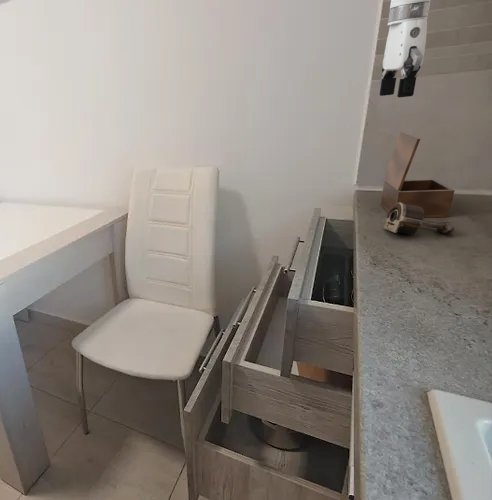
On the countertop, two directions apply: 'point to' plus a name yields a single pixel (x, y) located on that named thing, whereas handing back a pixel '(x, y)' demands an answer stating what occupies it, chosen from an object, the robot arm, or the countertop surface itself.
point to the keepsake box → (420, 196)
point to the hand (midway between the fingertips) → (395, 95)
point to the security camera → (412, 220)
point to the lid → (401, 160)
